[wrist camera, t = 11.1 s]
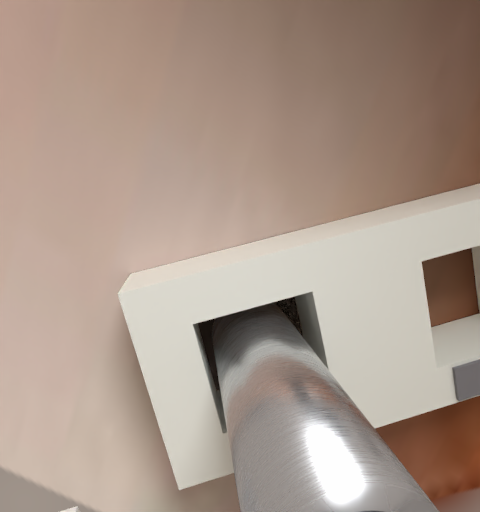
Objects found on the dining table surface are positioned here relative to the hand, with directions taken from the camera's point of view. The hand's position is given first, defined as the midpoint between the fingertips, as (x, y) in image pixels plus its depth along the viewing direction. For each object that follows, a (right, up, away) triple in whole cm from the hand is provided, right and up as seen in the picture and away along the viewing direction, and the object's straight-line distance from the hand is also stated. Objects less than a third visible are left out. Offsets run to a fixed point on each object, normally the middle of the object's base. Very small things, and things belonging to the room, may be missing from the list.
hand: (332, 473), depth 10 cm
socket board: (+4, +3, +12) cm, 13 cm away
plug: (-2, +1, +11) cm, 12 cm away
